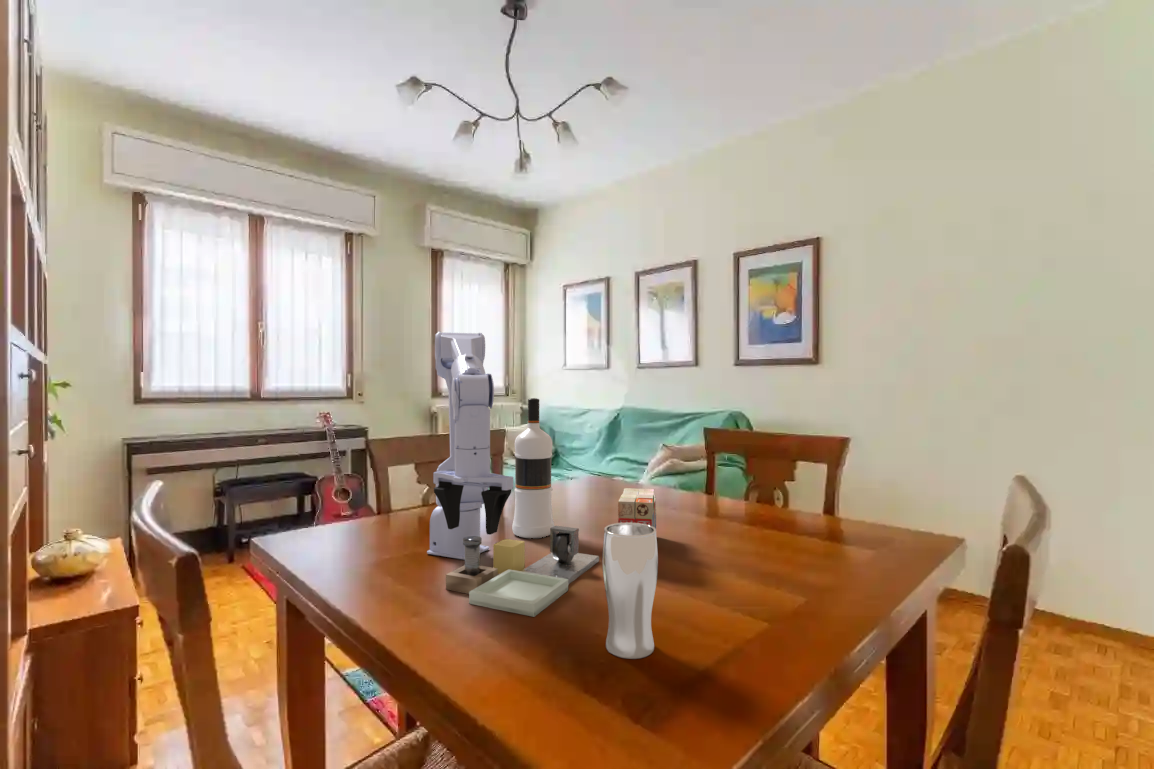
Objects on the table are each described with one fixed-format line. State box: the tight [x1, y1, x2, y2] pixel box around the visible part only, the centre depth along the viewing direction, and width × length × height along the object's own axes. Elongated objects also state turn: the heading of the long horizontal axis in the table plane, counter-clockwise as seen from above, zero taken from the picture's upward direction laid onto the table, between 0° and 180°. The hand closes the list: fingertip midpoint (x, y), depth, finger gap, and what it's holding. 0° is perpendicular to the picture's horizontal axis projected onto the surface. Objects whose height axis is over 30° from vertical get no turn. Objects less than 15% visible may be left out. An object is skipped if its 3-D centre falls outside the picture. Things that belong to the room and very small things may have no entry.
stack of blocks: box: [617, 487, 657, 530], centre depth 111 cm, size 21×6×12 cm, turn 170°
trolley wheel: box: [522, 525, 600, 585], centre depth 99 cm, size 9×15×7 cm, turn 155°
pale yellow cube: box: [492, 538, 526, 575], centre depth 98 cm, size 4×4×5 cm
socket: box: [445, 564, 499, 595], centre depth 91 cm, size 6×6×2 cm
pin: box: [463, 536, 482, 576], centre depth 91 cm, size 3×3×8 cm
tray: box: [468, 569, 569, 618], centre depth 86 cm, size 11×11×2 cm
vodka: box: [511, 397, 555, 539], centre depth 123 cm, size 9×9×30 cm
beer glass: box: [602, 522, 659, 660], centre depth 70 cm, size 7×7×15 cm
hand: (472, 530), depth 91 cm, fingers open, 7 cm apart
